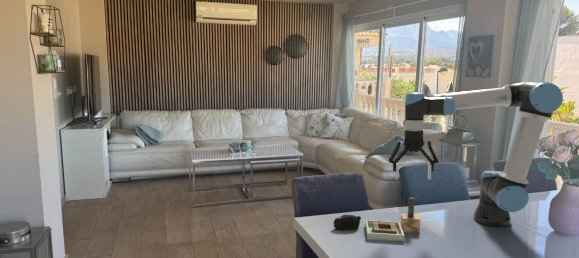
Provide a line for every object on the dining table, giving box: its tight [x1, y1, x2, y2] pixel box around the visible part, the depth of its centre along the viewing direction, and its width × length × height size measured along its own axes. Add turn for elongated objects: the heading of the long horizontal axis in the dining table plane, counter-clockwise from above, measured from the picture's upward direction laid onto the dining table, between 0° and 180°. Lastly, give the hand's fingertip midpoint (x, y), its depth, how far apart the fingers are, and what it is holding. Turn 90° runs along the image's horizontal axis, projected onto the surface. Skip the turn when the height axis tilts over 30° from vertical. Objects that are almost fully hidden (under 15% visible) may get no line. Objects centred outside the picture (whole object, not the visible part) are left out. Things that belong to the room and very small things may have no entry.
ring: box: [372, 219, 397, 234], centre depth 173 cm, size 11×9×3 cm
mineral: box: [333, 214, 362, 231], centre depth 178 cm, size 10×9×6 cm
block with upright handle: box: [400, 197, 421, 234], centre depth 176 cm, size 7×6×14 cm
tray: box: [364, 219, 405, 243], centre depth 173 cm, size 14×14×3 cm
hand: (412, 178), depth 177 cm, fingers open, 13 cm apart
